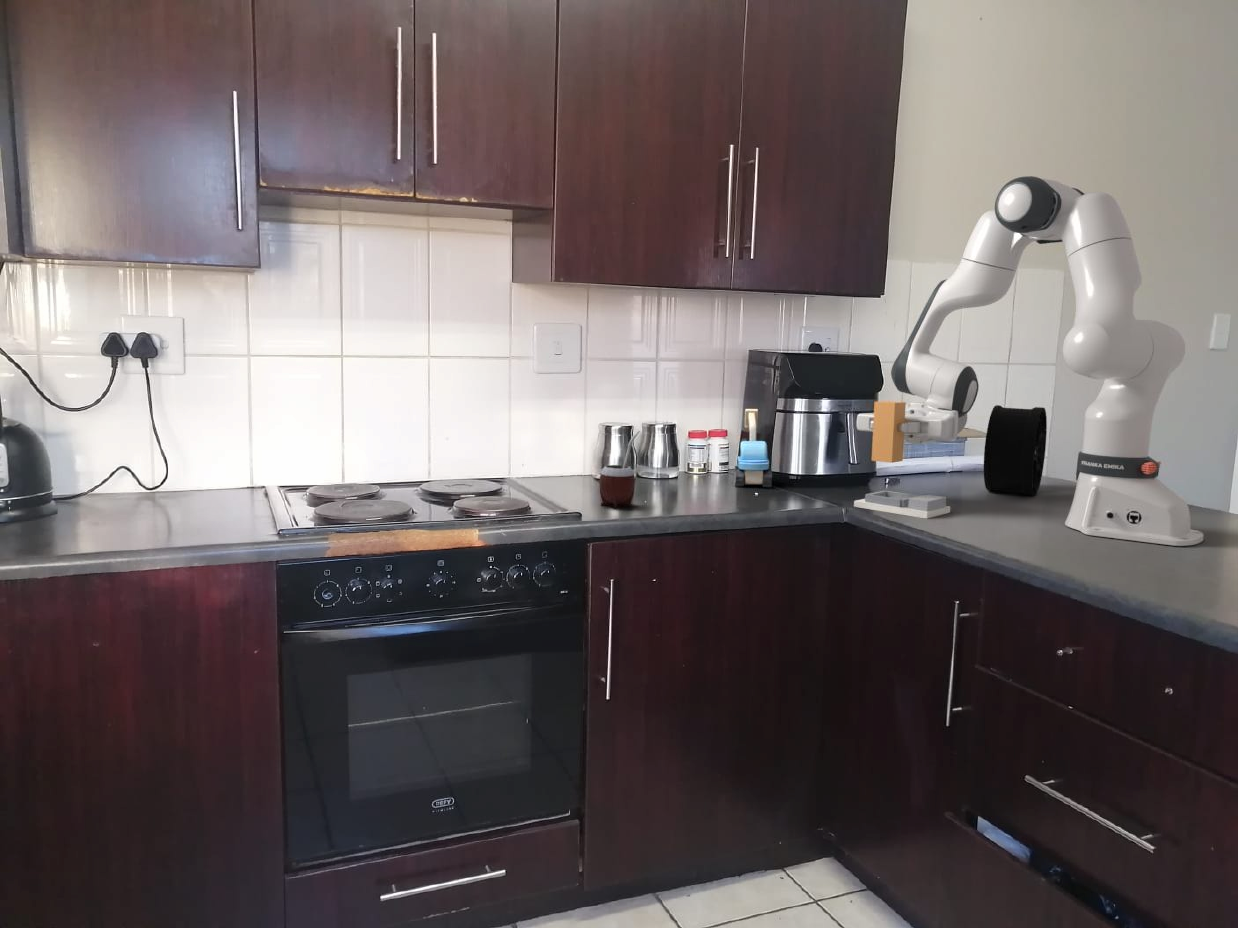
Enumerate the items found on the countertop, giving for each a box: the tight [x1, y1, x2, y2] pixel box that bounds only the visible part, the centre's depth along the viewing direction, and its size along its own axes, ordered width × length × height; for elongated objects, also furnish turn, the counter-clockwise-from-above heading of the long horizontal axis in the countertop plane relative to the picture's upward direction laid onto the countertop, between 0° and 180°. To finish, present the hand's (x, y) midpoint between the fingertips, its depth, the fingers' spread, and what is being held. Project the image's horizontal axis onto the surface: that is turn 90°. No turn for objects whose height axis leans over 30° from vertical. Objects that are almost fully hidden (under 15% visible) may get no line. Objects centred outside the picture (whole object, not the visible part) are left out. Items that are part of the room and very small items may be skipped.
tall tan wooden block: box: [871, 400, 907, 464], centre depth 189 cm, size 4×4×12 cm
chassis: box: [853, 490, 951, 519], centre depth 189 cm, size 16×10×3 cm, turn 45°
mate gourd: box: [598, 429, 641, 510], centre depth 185 cm, size 8×8×15 cm
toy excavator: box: [733, 408, 773, 488], centre depth 218 cm, size 9×17×17 cm, turn 174°
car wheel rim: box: [983, 404, 1048, 496], centre depth 213 cm, size 20×10×20 cm, turn 148°
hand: (886, 426), depth 188 cm, fingers closed on tall tan wooden block, 4 cm apart
